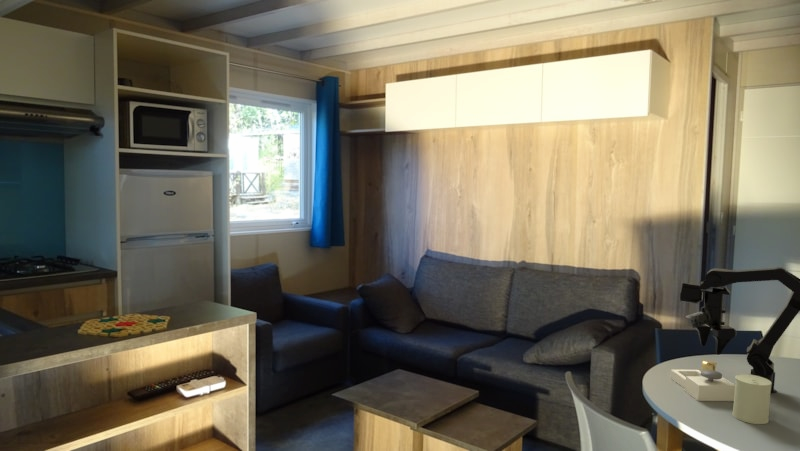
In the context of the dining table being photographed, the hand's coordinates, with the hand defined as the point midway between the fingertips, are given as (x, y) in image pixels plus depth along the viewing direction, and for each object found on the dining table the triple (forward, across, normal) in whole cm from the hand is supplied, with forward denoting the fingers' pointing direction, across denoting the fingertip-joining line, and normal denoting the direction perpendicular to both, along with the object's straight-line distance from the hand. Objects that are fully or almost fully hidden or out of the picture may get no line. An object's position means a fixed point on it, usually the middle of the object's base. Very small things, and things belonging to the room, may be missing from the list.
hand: (710, 350), depth 202 cm
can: (+11, +31, -5) cm, 33 cm away
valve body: (+10, +9, -8) cm, 16 cm away
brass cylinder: (+10, 0, 0) cm, 10 cm away
